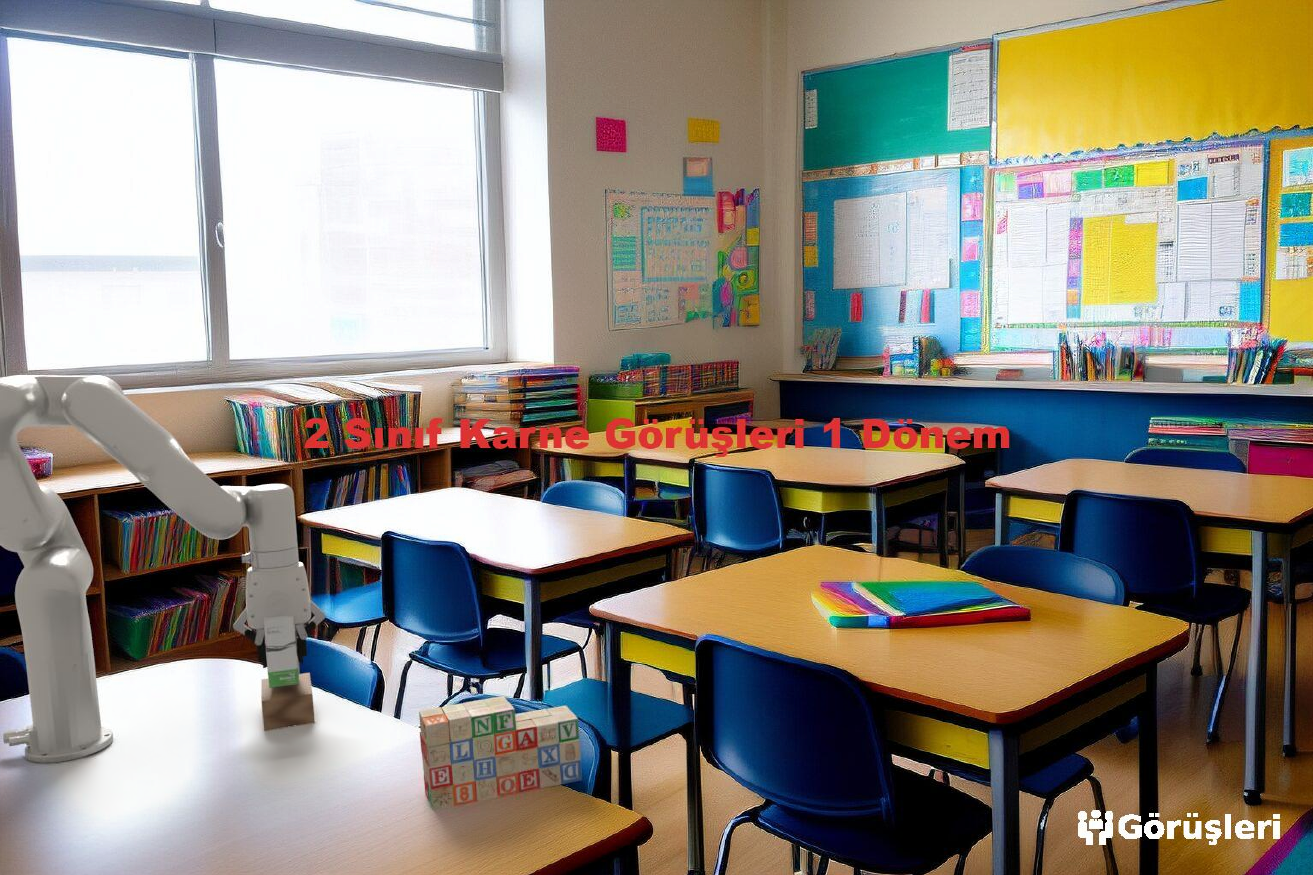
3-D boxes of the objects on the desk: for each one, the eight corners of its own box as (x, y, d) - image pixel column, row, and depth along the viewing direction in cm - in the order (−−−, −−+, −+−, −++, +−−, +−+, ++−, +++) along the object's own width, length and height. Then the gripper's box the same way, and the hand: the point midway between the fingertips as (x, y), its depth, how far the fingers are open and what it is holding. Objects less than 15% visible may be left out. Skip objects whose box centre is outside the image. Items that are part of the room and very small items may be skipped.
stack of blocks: (570, 765, 164) (565, 684, 163) (582, 781, 158) (578, 697, 157) (423, 793, 157) (417, 708, 155) (431, 811, 151) (425, 723, 149)
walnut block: (264, 730, 183) (261, 701, 183) (263, 707, 195) (261, 679, 194) (314, 722, 186) (312, 693, 185) (311, 699, 197) (309, 672, 197)
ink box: (299, 684, 186) (293, 615, 185) (267, 688, 185) (262, 619, 183) (300, 669, 194) (295, 603, 193) (270, 673, 193) (264, 606, 191)
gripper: (219, 568, 181) (228, 677, 183) (329, 557, 186) (336, 662, 188) (221, 559, 188) (230, 664, 190) (326, 548, 193) (334, 650, 195)
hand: (283, 662), depth 189 cm, fingers closed on ink box, 5 cm apart
